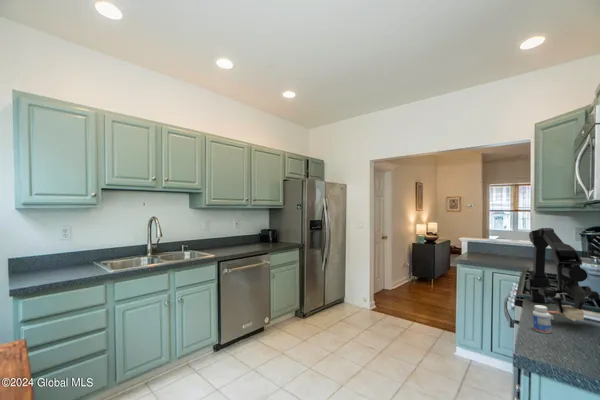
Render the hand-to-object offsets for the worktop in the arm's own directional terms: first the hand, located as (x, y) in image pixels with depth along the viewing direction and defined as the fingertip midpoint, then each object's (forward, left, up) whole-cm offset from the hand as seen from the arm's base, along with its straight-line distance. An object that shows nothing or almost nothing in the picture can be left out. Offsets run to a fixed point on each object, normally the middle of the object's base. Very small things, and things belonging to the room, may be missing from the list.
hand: (569, 313), depth 119 cm
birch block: (0, 0, -1) cm, 1 cm away
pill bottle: (+10, -14, -5) cm, 18 cm away
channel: (-11, 0, -5) cm, 12 cm away
